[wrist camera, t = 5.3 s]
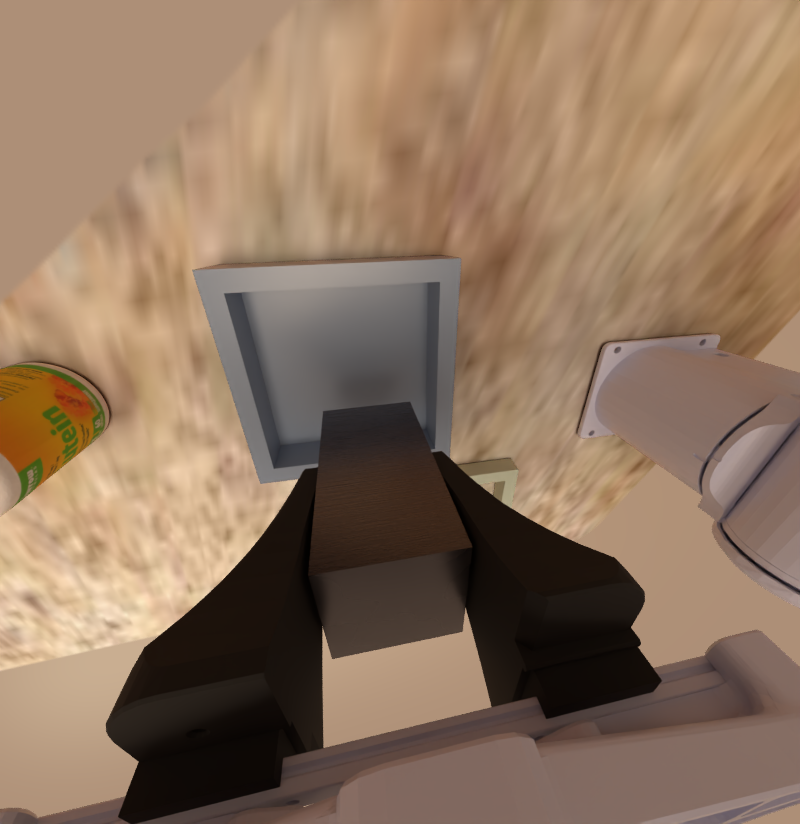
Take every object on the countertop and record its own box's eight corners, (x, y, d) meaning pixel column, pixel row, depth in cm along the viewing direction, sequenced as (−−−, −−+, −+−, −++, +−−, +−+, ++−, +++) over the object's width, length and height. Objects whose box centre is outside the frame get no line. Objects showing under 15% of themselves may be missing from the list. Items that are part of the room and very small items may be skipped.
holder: (510, 458, 26) (518, 469, 25) (499, 517, 30) (507, 530, 29) (428, 468, 26) (433, 481, 24) (427, 528, 29) (431, 542, 28)
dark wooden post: (410, 401, 15) (472, 547, 8) (411, 468, 17) (462, 631, 10) (323, 411, 14) (308, 575, 7) (335, 479, 16) (332, 659, 9)
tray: (440, 255, 18) (461, 258, 15) (435, 431, 24) (449, 459, 21) (219, 264, 17) (192, 270, 14) (271, 450, 22) (260, 483, 19)
